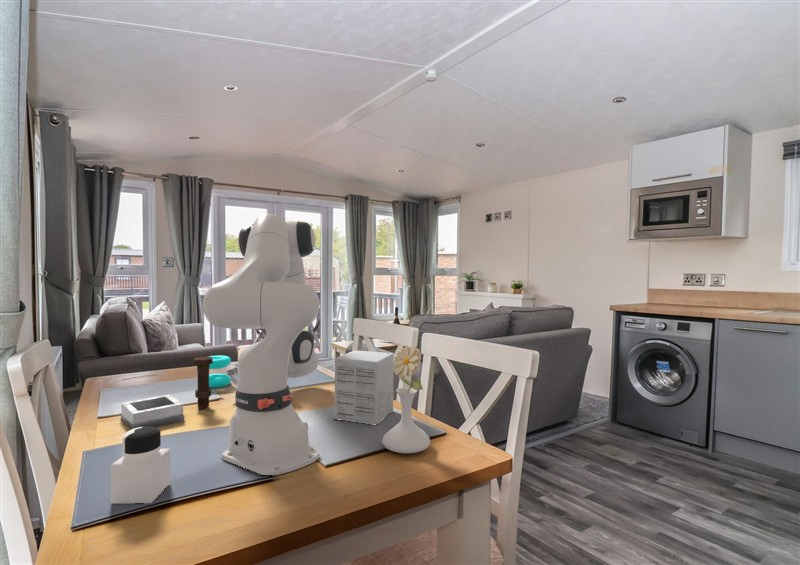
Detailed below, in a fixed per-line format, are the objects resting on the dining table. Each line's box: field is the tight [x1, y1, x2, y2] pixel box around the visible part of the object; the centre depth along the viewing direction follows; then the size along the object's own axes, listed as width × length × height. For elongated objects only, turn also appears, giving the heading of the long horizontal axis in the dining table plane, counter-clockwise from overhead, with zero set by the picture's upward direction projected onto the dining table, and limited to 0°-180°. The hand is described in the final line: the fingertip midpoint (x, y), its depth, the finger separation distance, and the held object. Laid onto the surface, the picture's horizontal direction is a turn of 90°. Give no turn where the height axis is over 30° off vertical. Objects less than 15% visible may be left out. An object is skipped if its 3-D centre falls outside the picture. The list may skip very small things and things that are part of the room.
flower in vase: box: [381, 344, 431, 454], centre depth 101 cm, size 13×11×25 cm
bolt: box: [193, 356, 213, 410], centre depth 129 cm, size 6×5×15 cm
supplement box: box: [334, 349, 395, 425], centre depth 124 cm, size 13×13×18 cm
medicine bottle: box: [110, 426, 172, 505], centre depth 80 cm, size 7×7×12 cm
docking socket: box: [120, 394, 185, 430], centre depth 119 cm, size 14×12×4 cm
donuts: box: [208, 354, 232, 389], centre depth 155 cm, size 10×10×10 cm
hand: (233, 375), depth 136 cm, fingers open, 8 cm apart
